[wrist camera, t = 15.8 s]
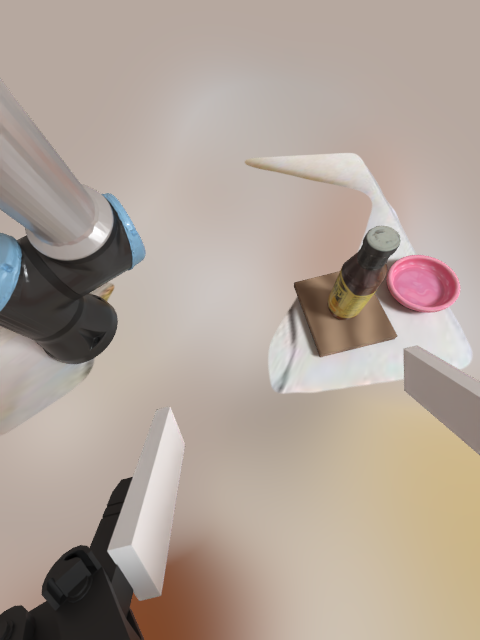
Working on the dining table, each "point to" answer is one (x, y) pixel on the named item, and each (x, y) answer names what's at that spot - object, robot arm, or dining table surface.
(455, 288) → the saucer
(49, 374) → the dining table surface
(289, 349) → the dining table surface
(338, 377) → the dining table surface
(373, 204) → the dining table surface
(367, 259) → the sauce bottle
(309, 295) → the walnut serving board
